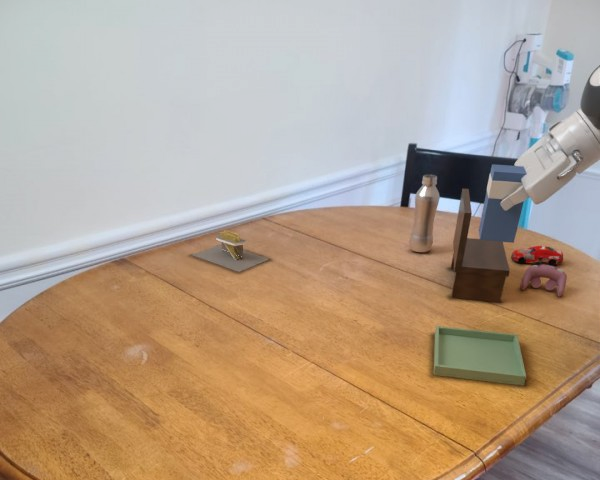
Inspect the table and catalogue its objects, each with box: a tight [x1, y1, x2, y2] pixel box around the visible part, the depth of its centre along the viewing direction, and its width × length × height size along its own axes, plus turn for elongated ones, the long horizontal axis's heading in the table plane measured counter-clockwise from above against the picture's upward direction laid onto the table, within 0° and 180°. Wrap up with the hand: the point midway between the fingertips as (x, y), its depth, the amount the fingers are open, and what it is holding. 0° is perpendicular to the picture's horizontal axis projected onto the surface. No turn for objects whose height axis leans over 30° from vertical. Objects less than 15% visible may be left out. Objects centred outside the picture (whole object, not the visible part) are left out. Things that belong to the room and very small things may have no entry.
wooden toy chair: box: [450, 188, 511, 304], centre depth 134 cm, size 12×20×20 cm, turn 168°
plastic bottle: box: [408, 174, 441, 253], centre depth 152 cm, size 6×7×20 cm
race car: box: [510, 245, 564, 266], centre depth 151 cm, size 13×5×4 cm, turn 80°
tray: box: [433, 325, 527, 386], centre depth 110 cm, size 16×16×2 cm
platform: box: [192, 229, 270, 273], centre depth 151 cm, size 12×18×7 cm, turn 50°
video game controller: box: [520, 264, 568, 297], centre depth 136 cm, size 10×5×7 cm, turn 65°
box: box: [478, 163, 527, 244], centre depth 102 cm, size 6×6×12 cm
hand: (500, 201), depth 102 cm, fingers closed on box, 5 cm apart
